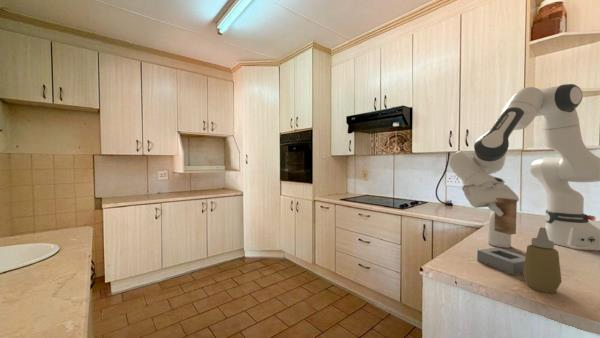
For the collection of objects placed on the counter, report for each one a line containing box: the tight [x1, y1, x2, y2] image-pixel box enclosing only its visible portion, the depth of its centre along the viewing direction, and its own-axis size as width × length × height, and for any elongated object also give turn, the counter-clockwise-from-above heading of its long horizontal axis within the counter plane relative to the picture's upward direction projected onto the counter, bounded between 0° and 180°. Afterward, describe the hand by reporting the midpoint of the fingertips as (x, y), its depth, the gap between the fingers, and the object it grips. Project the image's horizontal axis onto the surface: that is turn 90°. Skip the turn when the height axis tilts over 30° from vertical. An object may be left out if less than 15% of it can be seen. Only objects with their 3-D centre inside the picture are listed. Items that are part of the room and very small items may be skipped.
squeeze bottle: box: [522, 227, 562, 294], centre depth 70 cm, size 8×8×18 cm
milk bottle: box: [487, 210, 512, 249], centre depth 106 cm, size 8×8×20 cm
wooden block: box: [494, 198, 518, 236], centre depth 86 cm, size 5×3×12 cm, turn 16°
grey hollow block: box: [476, 246, 526, 276], centre depth 86 cm, size 12×10×4 cm
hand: (507, 214), depth 85 cm, fingers closed on wooden block, 3 cm apart
